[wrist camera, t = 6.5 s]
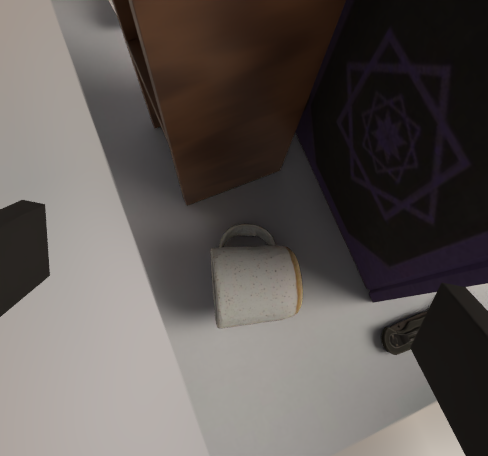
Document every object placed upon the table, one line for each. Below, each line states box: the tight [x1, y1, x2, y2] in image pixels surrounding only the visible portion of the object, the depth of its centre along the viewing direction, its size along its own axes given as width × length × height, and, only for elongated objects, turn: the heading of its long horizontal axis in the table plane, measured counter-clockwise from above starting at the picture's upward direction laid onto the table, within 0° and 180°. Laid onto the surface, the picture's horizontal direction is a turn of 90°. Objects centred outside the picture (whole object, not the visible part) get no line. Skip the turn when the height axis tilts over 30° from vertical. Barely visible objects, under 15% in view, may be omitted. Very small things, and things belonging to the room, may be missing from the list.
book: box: [295, 0, 488, 302], centre depth 26 cm, size 24×6×30 cm, turn 20°
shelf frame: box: [112, 0, 346, 205], centre depth 28 cm, size 12×12×26 cm
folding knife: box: [381, 311, 428, 355], centre depth 36 cm, size 10×1×3 cm
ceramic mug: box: [211, 224, 303, 328], centre depth 33 cm, size 11×8×8 cm
